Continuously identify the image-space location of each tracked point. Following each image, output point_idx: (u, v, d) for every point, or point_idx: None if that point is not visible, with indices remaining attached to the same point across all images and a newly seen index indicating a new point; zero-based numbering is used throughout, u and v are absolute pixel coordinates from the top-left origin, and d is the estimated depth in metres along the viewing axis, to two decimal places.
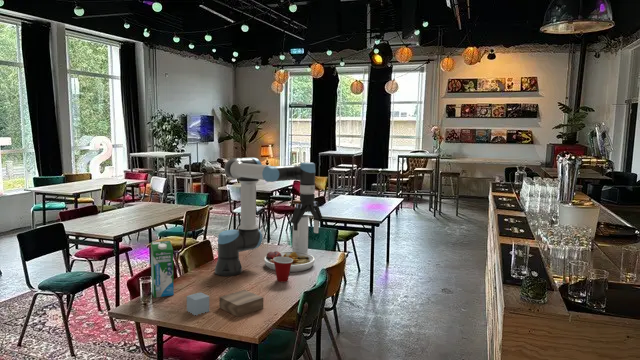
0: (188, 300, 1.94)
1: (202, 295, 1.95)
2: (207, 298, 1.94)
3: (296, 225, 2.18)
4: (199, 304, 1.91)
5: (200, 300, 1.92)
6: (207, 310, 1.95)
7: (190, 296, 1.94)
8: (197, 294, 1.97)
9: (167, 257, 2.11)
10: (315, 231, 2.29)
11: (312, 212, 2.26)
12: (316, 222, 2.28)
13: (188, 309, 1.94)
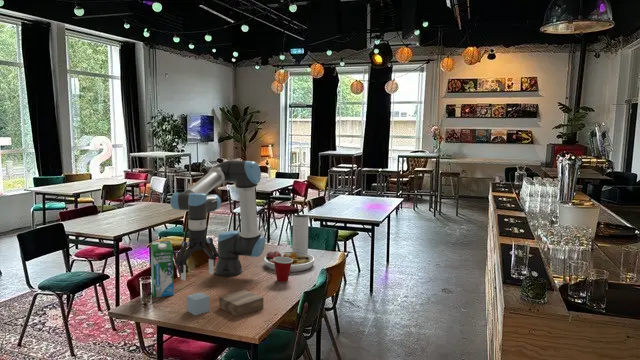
0: (188, 300, 1.94)
1: (202, 295, 1.95)
2: (207, 298, 1.94)
3: (182, 267, 1.87)
4: (199, 304, 1.91)
5: (200, 300, 1.92)
6: (207, 310, 1.95)
7: (190, 296, 1.94)
8: (197, 294, 1.97)
9: (167, 257, 2.11)
10: (210, 272, 1.98)
11: (205, 250, 1.95)
12: (211, 261, 1.97)
13: (188, 309, 1.94)
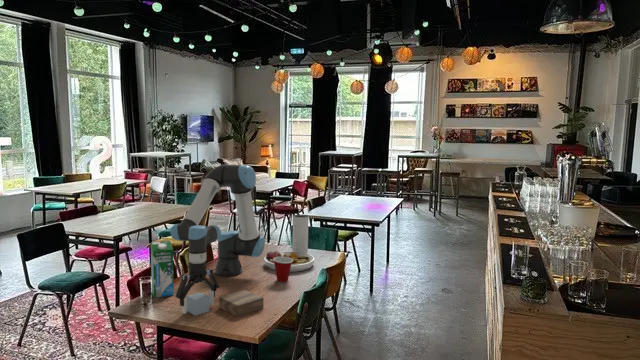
0: (188, 300, 1.94)
1: (202, 295, 1.95)
2: (207, 298, 1.94)
3: (182, 300, 1.89)
4: (199, 304, 1.91)
5: (200, 300, 1.92)
6: (207, 310, 1.95)
7: (190, 296, 1.94)
8: (197, 294, 1.97)
9: (167, 257, 2.11)
10: (210, 303, 2.00)
11: (205, 282, 1.97)
12: (211, 293, 1.99)
13: (188, 309, 1.94)
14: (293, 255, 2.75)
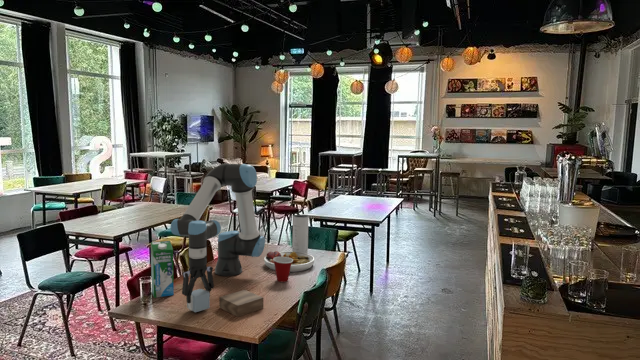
0: None
1: (202, 292, 1.96)
2: (207, 294, 1.94)
3: (189, 297, 1.91)
4: (199, 300, 1.92)
5: (200, 297, 1.92)
6: (207, 306, 1.95)
7: None
8: (197, 290, 1.97)
9: (167, 257, 2.11)
10: None
11: (203, 279, 1.96)
12: None
13: None
14: (293, 255, 2.75)
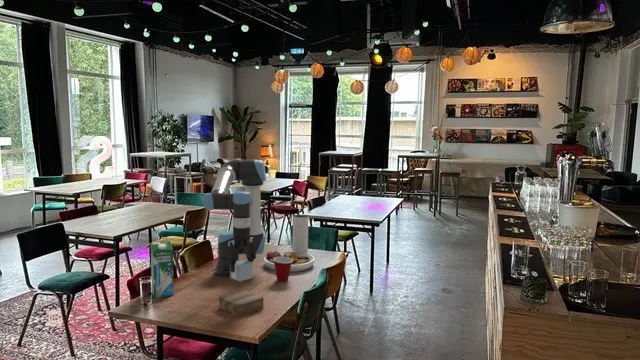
0: None
1: (245, 262, 1.99)
2: (250, 264, 1.97)
3: (233, 266, 1.94)
4: (243, 269, 1.95)
5: (244, 266, 1.95)
6: (250, 276, 1.98)
7: None
8: (240, 260, 2.00)
9: (167, 257, 2.11)
10: None
11: (246, 249, 1.99)
12: None
13: None
14: (293, 255, 2.75)
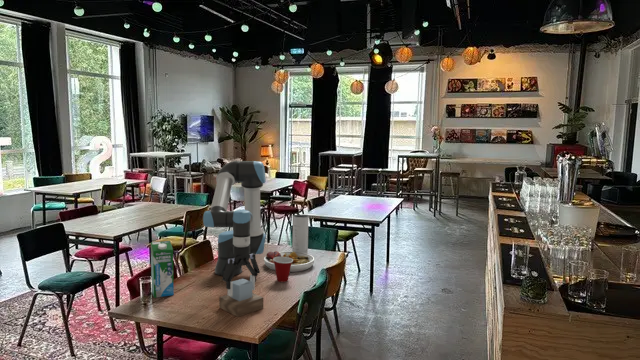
0: None
1: (245, 281, 1.99)
2: (250, 284, 1.98)
3: (229, 283, 1.93)
4: (243, 289, 1.96)
5: (244, 286, 1.96)
6: (250, 296, 1.99)
7: (234, 282, 1.98)
8: (239, 280, 2.01)
9: (167, 257, 2.11)
10: None
11: (247, 266, 2.00)
12: (252, 278, 2.02)
13: None
14: (293, 255, 2.75)
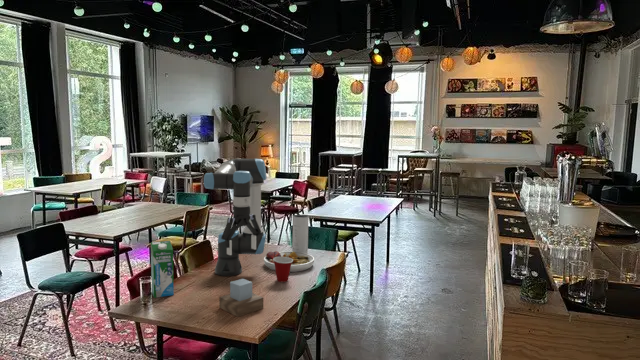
0: (232, 286, 1.98)
1: (245, 281, 1.99)
2: (250, 284, 1.98)
3: (228, 242, 1.94)
4: (243, 289, 1.96)
5: (244, 286, 1.96)
6: (250, 296, 1.99)
7: (234, 282, 1.98)
8: (239, 280, 2.01)
9: (167, 257, 2.11)
10: (253, 247, 2.06)
11: (248, 226, 2.02)
12: (253, 237, 2.05)
13: (232, 295, 1.98)
14: (293, 255, 2.75)
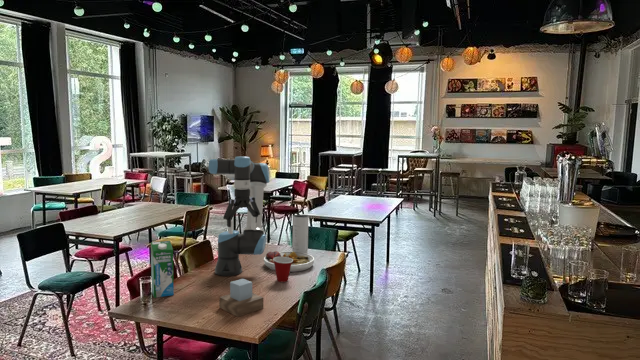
0: (232, 286, 1.98)
1: (245, 281, 1.99)
2: (250, 284, 1.98)
3: (229, 221, 2.10)
4: (243, 289, 1.96)
5: (244, 286, 1.96)
6: (250, 296, 1.99)
7: (234, 282, 1.98)
8: (239, 280, 2.01)
9: (167, 257, 2.11)
10: (252, 228, 2.21)
11: (248, 208, 2.18)
12: (253, 218, 2.20)
13: (232, 295, 1.98)
14: (293, 255, 2.75)
